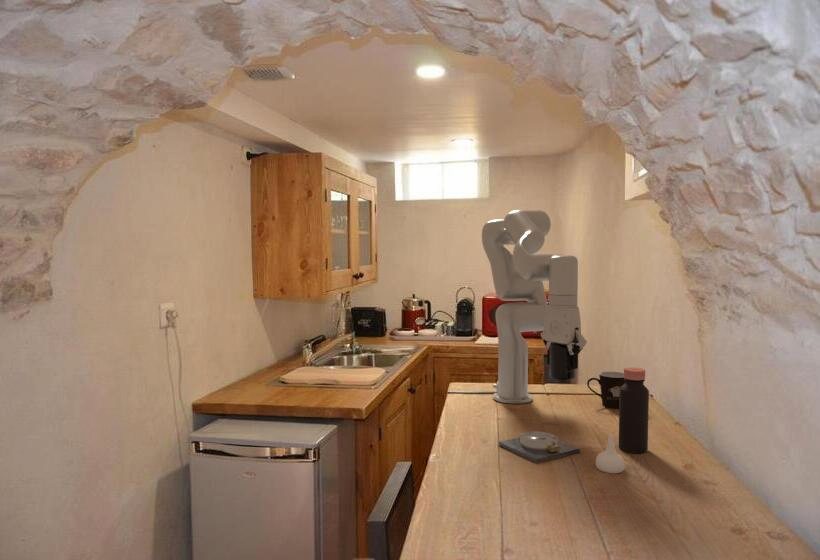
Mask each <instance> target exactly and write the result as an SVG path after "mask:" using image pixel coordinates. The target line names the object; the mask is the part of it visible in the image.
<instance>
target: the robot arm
mask: <svg viewBox="0 0 820 560" xmlns="http://www.w3.org/2000/svg"><path fill="white" fill-rule="evenodd" d="M551 225H552V224H551V219H550V216H549V214H547V212H545V211H544V210H541V209H540V210H539V209H516V210H512V211H510V212H508V213H507V214H506V215H505V217H504V219H499V218H498V219H492V220H490V221H487V222H486V223H484V225H483V226H482V230H481V242H482V243H481V244H482V246H483V247H482V248H483V250H484V252H485V254H486V257H487V259H488V261H489V263H490V269H491V273H492V274H491V275H492V282H493V285H494V291H495V294H496V296H497V298H498V299H499V300H500V301H504V302H505V301H506V302H507V301H508V302H507V303H503V304H501V305H499V306H498V307H497V308H496V310H495V323H496V330H497V340H498V341H497V342H498V343H497V345H498V347H497V351H498V355H497V356H498V357H497V359H498V360H497V361H498V364H497V365H498V366H497V368H498V370H497V371H498V372H497V373H498V374H497V382H496V383H493V385H492V388H493V389H496V392H495V393H493V395H492V396H493V397H492V398H493V400H495V401H497V402H500V403H504V404H512V405H513V404H515V405H517V404H528V403H529V402H532V401H533V395H532V394H530V393H528V391H529V389H528V387H529V386H528V384H529V383H528V382H529V380H528V379H529V378H528V377H529V373H528V372H529V346H528V345H529V344H528V343H527V341H526V339H525V337H523V336H522V333H525V332H541V333H540V337H541V339H542V343H543V344H544V346H545V350H546V351H547V354H546V355H547V358H546V359H547V360H546V361H547V362H546V363H547V365H548V366H550V345H551V344H553V343H558V344H563V345H567V347H568V350H569V353H570V354H568V369H569V370H571V369H575V370H577V369H578V367H579V364H578V363H579V362H578V361H579V355H580V354H581V352H582V351H583V349H584V347H585V346H586V345H587V344H588V343H587V340H586V338H585V337H584V336H583V334H582V324H581V322H582V321H581V314H580V308H579V306H578V296H579V295H578V293H579V292H578V288H579V287H578V286H579V285H578V284H579V283H578V281H579V279H578V275H579V261H578V258H577V257H576V256H575V255H565V254H562V253H560V254H559V253H537V252H539V251H540V250H541V249H543V246H544V244H545V240H546V236H547V235H548V234H549V232H550V230H551ZM505 245H507V246H510V245H512V246H513V245H514V247H513V252H512V253H511V252H510V250H509V249H507V247H505ZM544 281H545V282H546V281H547V282H548V295H547V297H546V290H545V286H544V283H543V282H544ZM547 300H548V301H547ZM510 301H511V302H510ZM512 301H513V302H512ZM518 301H519V302H518ZM520 301H526V302H520ZM572 345H573V347H574V348H573V347H572Z"/></svg>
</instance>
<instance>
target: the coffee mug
mask: <svg viewBox="0 0 820 560" xmlns="http://www.w3.org/2000/svg"><path fill="white" fill-rule="evenodd" d="M598 374H599V378H597V377H591V378H589V379H588V380H587V382H586V385H587V388H588V389H589V390H590V391H591V392H592V393H593V394H595V395H597V396H598V397H599V398H601V404H602V407H604V406H605V408H606V407H608V408H607V409H615V410H619V397H620V388H621V386H623V385H624V384H625V380H624V372H621V371H600V372H599V373H598ZM591 381H597V382H598V384H599V386H600V393H601V394H600V393H599V392H597V391H595V390H593V389H592V388H591V387H590V382H591Z"/></svg>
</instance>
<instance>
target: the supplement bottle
mask: <svg viewBox="0 0 820 560" xmlns="http://www.w3.org/2000/svg"><path fill="white" fill-rule="evenodd" d="M572 347H573V345H572ZM573 348H574V347H573ZM568 354H570V353H569V350H568V347H567V345H563V344H558V343H553V344H551V345H550V365H549V377H550V379H552V380H559V381H570V380H572V381H573V380H574V379H576V369H571V370H569V369H568Z"/></svg>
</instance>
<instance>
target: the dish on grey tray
mask: <svg viewBox="0 0 820 560" xmlns="http://www.w3.org/2000/svg"><path fill="white" fill-rule="evenodd" d="M499 445H500V446H499ZM498 446H499V447H501V446H502V447H501V448H503V447H504V448H503V449H505V450H507V449H508V451H509V452H512V453H514V454H515V455H518V456H520V457H522V458H525V459H526V460H529V461H531V462H533V463H535V464H540V463H543V462H547V461H551V460H556V459H558V458H559V459H560V458H563V457H567V456H571V455H575V454H580V453H581V448H579V447H578V446H575V445H572V444H571V443H567V442H565V441H562V440H560V439H558V437H557V436H556V435H555V434H553V433H549V432H545V431H538V430H537V431H533V430H532V431H526V432H520V433H518V437H514V438H510V439H504V440H501V441H498Z"/></svg>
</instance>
